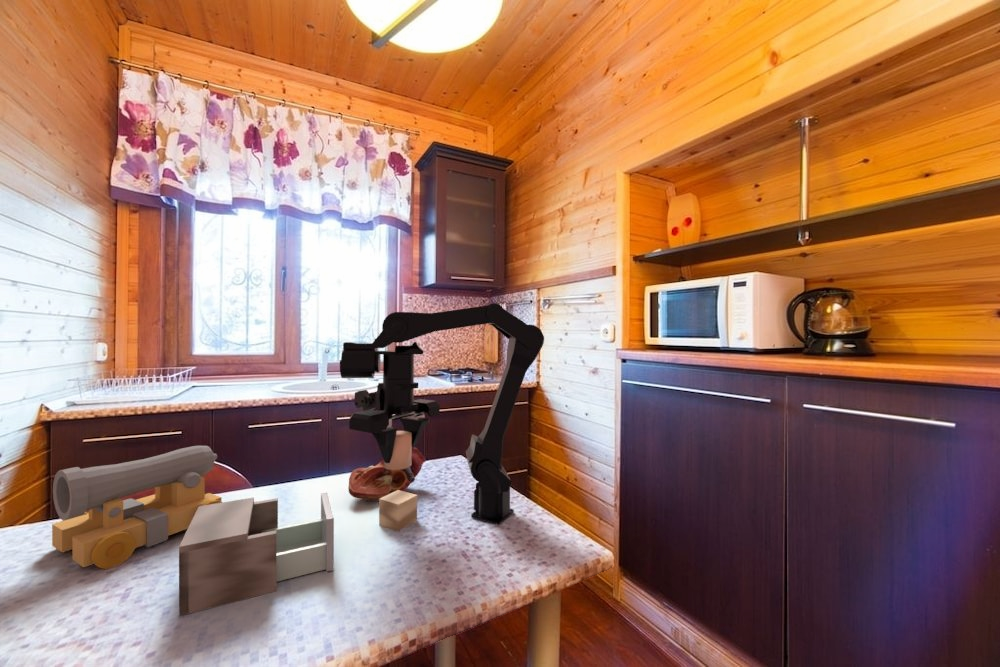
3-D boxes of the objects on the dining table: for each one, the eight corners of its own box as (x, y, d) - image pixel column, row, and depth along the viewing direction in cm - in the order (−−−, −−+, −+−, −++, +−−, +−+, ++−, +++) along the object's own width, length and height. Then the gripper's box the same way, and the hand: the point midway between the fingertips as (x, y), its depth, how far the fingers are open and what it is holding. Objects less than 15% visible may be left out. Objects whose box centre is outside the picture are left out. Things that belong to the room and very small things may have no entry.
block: (417, 520, 79) (417, 495, 79) (398, 531, 74) (398, 504, 74) (398, 514, 81) (398, 489, 81) (379, 524, 77) (379, 498, 77)
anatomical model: (334, 474, 88) (385, 423, 90) (367, 484, 99) (412, 438, 101) (358, 512, 82) (412, 457, 85) (390, 518, 93) (437, 469, 96)
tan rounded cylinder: (417, 463, 79) (417, 433, 79) (397, 471, 74) (398, 439, 74) (397, 459, 81) (397, 429, 81) (377, 466, 77) (377, 435, 77)
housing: (277, 545, 69) (277, 493, 69) (276, 590, 57) (276, 527, 57) (198, 562, 64) (198, 506, 64) (179, 616, 52) (178, 546, 52)
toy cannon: (238, 519, 79) (238, 442, 79) (83, 580, 60) (82, 479, 60) (194, 502, 87) (194, 432, 87) (43, 552, 67) (43, 462, 67)
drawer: (327, 537, 72) (327, 492, 72) (333, 569, 62) (333, 518, 62) (261, 551, 67) (261, 503, 67) (258, 589, 57) (258, 533, 57)
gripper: (401, 371, 90) (401, 441, 90) (328, 379, 74) (328, 465, 74) (441, 374, 84) (440, 449, 84) (372, 384, 68) (371, 476, 68)
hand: (397, 458), depth 78 cm, fingers closed on tan rounded cylinder, 5 cm apart
